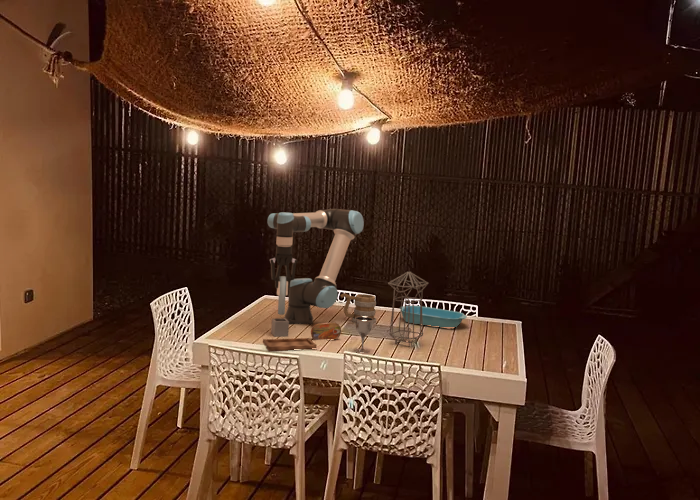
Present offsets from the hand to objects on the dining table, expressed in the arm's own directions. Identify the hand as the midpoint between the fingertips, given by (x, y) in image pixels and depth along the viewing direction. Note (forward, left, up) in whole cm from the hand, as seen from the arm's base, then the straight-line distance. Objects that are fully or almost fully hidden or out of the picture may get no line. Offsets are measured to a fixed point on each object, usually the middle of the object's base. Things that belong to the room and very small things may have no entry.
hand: (282, 294), depth 313 cm
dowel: (0, 0, -9) cm, 9 cm away
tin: (-20, +9, -20) cm, 30 cm away
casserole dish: (-90, -17, -21) cm, 94 cm away
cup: (0, 0, -20) cm, 20 cm away
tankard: (-50, -27, -20) cm, 60 cm away
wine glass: (-31, +29, -20) cm, 47 cm away
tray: (0, +18, -20) cm, 27 cm away
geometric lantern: (-56, +20, -20) cm, 63 cm away
